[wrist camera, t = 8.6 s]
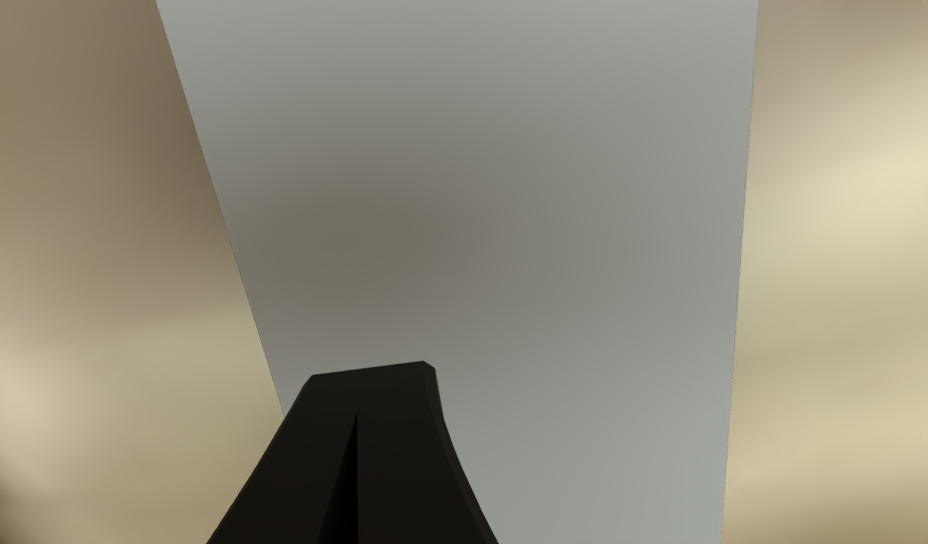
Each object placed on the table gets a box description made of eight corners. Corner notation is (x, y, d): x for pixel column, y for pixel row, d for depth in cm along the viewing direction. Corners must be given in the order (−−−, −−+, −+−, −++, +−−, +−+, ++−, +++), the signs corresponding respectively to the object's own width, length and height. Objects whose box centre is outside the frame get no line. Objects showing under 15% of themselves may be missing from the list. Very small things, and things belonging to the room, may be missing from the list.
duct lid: (710, 552, 18) (718, 574, 17) (348, 594, 18) (346, 617, 18) (779, -599, 9) (801, -622, 8) (24, -487, 9) (0, -503, 8)
